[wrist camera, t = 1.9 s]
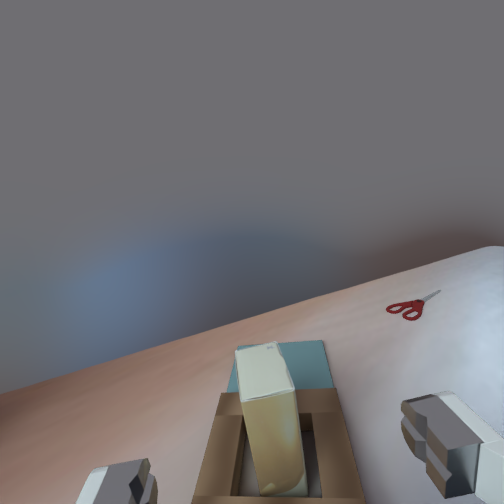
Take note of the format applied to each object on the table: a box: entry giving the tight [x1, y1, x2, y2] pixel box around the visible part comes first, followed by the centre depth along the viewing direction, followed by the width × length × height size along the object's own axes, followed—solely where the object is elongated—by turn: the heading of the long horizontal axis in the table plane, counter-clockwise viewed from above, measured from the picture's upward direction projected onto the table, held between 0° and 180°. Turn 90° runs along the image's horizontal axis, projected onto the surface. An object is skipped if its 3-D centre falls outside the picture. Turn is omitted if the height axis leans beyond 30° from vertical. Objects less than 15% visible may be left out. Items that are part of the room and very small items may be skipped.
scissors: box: [386, 290, 441, 321], centre depth 49 cm, size 5×14×1 cm, turn 119°
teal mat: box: [227, 340, 334, 393], centre depth 38 cm, size 14×10×1 cm
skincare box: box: [235, 341, 309, 498], centre depth 23 cm, size 6×4×12 cm
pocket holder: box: [191, 388, 366, 504], centre depth 25 cm, size 14×14×2 cm
